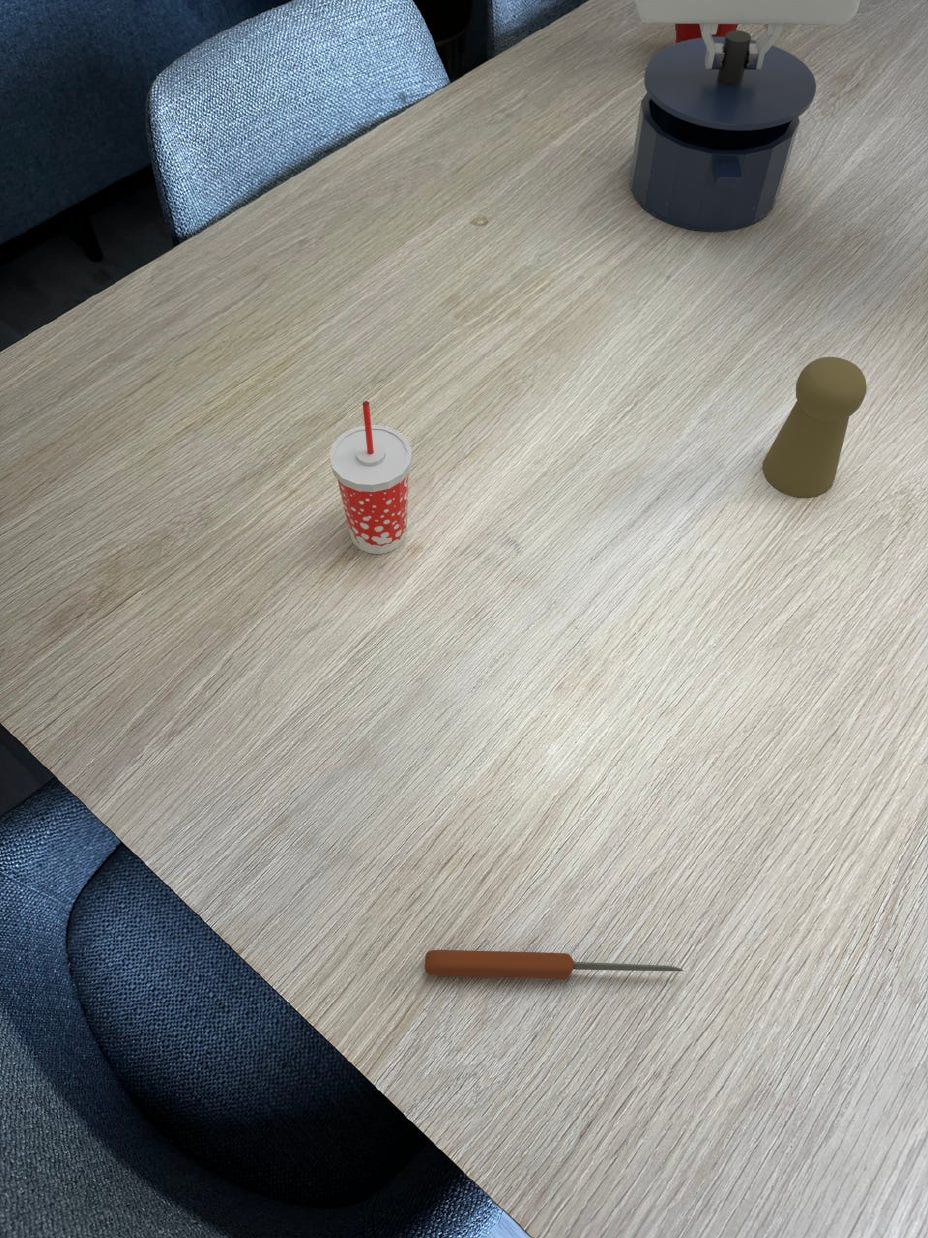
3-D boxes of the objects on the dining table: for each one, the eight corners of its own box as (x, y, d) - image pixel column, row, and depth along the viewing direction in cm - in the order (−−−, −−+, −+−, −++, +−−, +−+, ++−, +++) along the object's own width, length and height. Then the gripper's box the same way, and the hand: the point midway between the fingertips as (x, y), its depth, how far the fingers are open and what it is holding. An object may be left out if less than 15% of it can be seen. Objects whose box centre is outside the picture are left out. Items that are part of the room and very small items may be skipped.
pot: (763, 135, 117) (782, 58, 110) (790, 249, 105) (814, 172, 98) (624, 131, 117) (635, 55, 110) (636, 245, 105) (649, 168, 98)
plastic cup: (653, 34, 130) (669, -73, 120) (740, 39, 129) (763, -68, 120) (653, 79, 124) (670, -30, 114) (744, 84, 123) (769, -25, 113)
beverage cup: (401, 569, 81) (392, 443, 70) (329, 551, 82) (308, 423, 71) (426, 512, 85) (421, 383, 73) (356, 496, 86) (340, 365, 74)
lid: (799, 48, 107) (812, -5, 103) (826, 137, 98) (842, 82, 93) (638, 47, 107) (644, -7, 103) (649, 135, 98) (656, 80, 94)
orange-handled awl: (424, 979, 63) (423, 969, 62) (425, 956, 64) (425, 946, 63) (682, 986, 63) (688, 977, 62) (680, 963, 64) (686, 954, 62)
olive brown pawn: (781, 435, 90) (817, 334, 81) (846, 465, 88) (890, 365, 79) (749, 476, 87) (783, 377, 78) (816, 508, 85) (858, 410, 76)
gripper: (879, -111, 91) (834, 51, 102) (645, -112, 91) (626, 49, 103) (894, -79, 87) (845, 84, 99) (650, -81, 88) (629, 82, 99)
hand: (732, 66), depth 101 cm, fingers closed on lid, 2 cm apart
